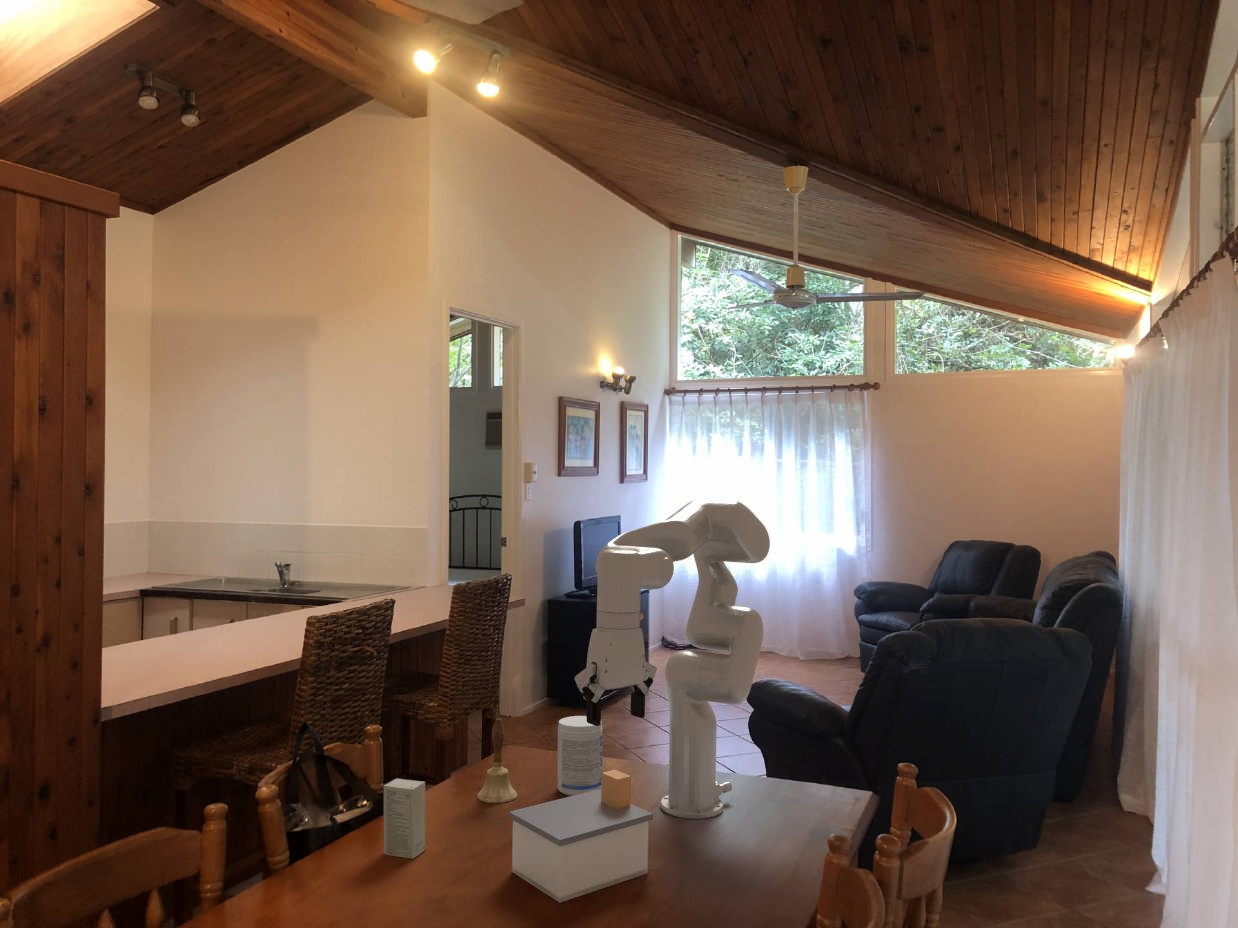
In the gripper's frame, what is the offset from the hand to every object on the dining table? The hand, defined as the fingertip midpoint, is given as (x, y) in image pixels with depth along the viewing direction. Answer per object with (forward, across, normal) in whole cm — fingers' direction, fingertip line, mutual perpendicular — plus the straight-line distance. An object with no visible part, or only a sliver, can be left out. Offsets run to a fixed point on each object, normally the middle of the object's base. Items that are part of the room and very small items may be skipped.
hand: (615, 720), depth 159 cm
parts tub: (+25, +7, 0) cm, 26 cm away
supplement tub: (+24, -17, -33) cm, 45 cm away
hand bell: (+24, -1, -40) cm, 47 cm away
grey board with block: (+17, +7, 0) cm, 18 cm away
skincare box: (+25, +27, -25) cm, 44 cm away
